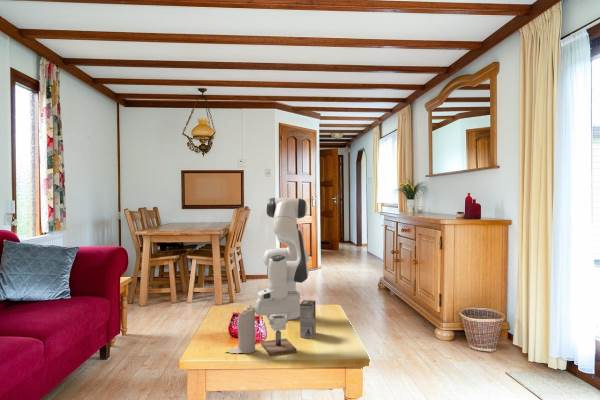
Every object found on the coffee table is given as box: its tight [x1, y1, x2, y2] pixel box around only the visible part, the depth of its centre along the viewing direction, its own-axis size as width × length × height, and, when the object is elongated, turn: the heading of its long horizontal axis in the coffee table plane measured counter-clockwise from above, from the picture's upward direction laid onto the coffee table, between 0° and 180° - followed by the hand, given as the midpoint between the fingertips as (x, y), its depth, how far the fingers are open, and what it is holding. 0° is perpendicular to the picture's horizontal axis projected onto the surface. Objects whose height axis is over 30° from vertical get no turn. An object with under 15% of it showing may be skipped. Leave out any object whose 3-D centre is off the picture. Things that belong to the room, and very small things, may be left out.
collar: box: [270, 315, 287, 332], centre depth 188 cm, size 5×5×5 cm
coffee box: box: [299, 299, 317, 339], centre depth 207 cm, size 9×6×16 cm
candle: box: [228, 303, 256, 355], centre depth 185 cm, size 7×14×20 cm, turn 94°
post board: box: [260, 338, 298, 357], centre depth 188 cm, size 15×12×2 cm
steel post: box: [275, 330, 282, 346], centre depth 188 cm, size 2×2×6 cm
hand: (278, 323), depth 188 cm, fingers closed on collar, 5 cm apart
